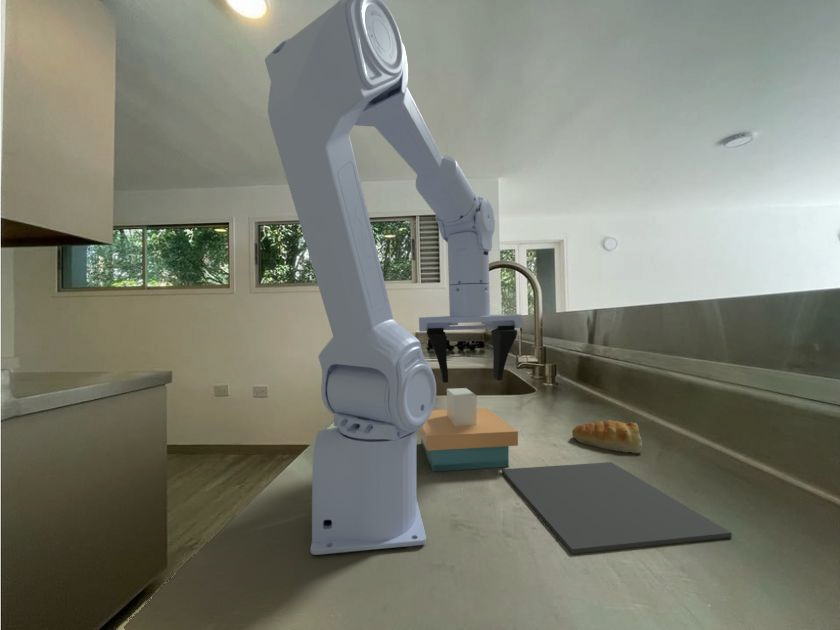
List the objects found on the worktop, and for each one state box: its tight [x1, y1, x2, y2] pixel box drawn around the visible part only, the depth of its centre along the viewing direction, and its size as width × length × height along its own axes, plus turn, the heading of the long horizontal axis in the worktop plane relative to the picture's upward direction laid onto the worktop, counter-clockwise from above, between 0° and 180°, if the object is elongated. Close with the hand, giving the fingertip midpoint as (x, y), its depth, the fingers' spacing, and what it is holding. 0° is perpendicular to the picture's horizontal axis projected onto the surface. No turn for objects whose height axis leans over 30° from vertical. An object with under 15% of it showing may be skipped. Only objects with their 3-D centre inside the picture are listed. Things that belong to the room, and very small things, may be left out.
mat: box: [501, 461, 733, 555], centre depth 36 cm, size 15×15×1 cm
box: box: [420, 437, 510, 473], centre depth 48 cm, size 10×10×4 cm
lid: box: [417, 387, 519, 451], centre depth 48 cm, size 12×12×6 cm
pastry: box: [572, 419, 643, 454], centre depth 53 cm, size 9×7×4 cm
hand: (471, 379), depth 49 cm, fingers open, 7 cm apart
